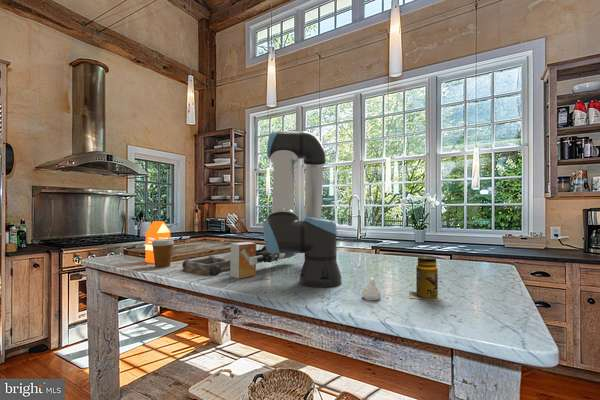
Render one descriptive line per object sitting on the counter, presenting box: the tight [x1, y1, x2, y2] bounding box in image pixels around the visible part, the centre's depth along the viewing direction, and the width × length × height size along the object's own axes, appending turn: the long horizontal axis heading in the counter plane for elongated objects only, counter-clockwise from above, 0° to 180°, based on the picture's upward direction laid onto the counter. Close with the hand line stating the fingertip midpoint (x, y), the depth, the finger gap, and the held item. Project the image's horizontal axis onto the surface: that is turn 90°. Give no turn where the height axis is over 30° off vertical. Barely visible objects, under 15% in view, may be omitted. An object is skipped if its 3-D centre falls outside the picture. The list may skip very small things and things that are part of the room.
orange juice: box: [144, 220, 171, 264], centre depth 153 cm, size 8×9×20 cm
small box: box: [229, 241, 257, 280], centre depth 121 cm, size 8×6×13 cm
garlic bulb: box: [361, 277, 382, 301], centre depth 93 cm, size 6×6×5 cm
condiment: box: [408, 256, 441, 302], centre depth 94 cm, size 7×8×12 cm
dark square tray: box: [181, 255, 231, 277], centre depth 134 cm, size 20×19×4 cm
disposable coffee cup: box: [151, 238, 175, 269], centre depth 140 cm, size 10×10×12 cm
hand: (237, 259), depth 119 cm, fingers open, 13 cm apart
